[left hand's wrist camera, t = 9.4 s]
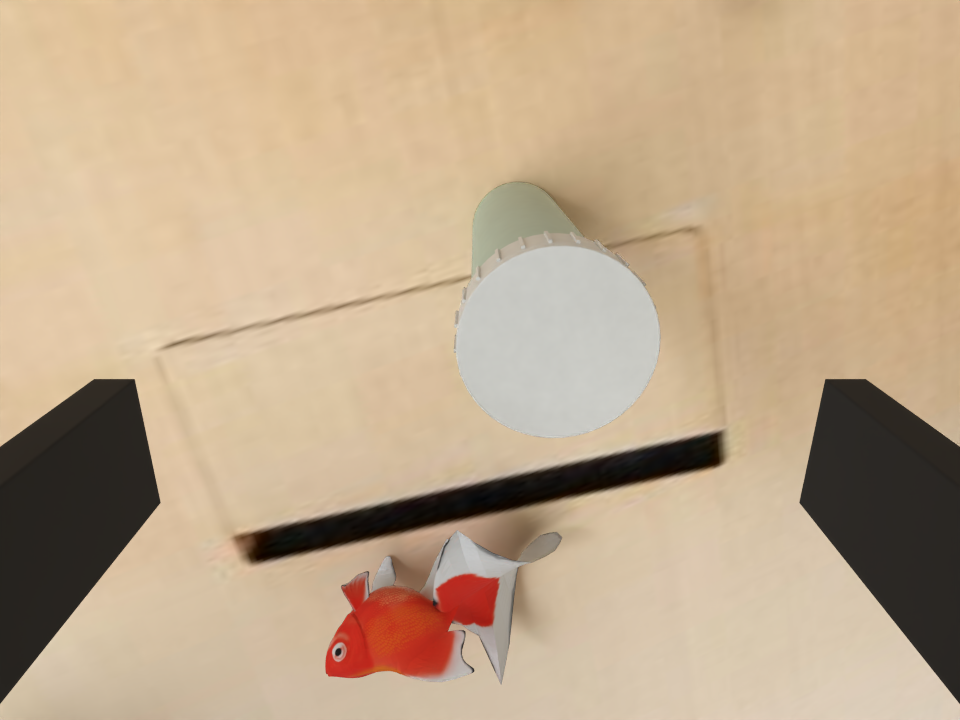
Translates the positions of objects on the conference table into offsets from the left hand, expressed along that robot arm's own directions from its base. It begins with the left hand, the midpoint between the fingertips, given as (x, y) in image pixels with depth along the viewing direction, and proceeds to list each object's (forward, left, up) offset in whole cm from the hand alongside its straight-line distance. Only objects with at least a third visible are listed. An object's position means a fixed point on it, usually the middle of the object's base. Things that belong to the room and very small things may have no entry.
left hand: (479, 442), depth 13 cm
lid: (+1, -2, -6) cm, 6 cm away
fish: (-21, -7, -25) cm, 33 cm away
